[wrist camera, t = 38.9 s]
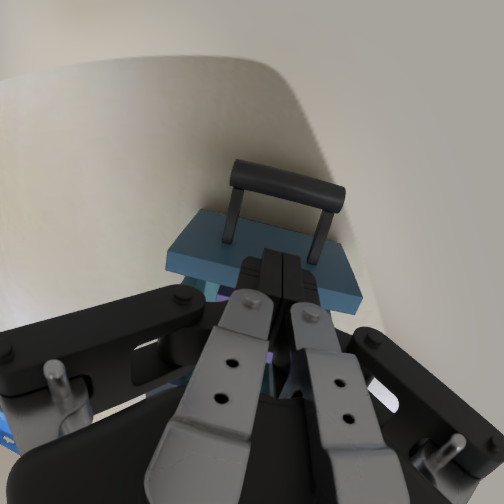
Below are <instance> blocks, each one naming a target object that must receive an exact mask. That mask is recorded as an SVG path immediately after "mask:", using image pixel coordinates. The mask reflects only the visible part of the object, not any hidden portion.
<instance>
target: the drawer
mask: <svg viewBox="0 0 504 504" xmlns="http://www.w3.org/2000/svg"><path fill="white" fill-rule="evenodd" d="M230 186H232V187H234V188H233V190H232V194H231V199H230V204H229V208H228V213H227V215H225V214H221V213H217V212H213V211H208V210H204V209H200V210H199V212H198V213H197V214H196V215H195V216H194V218H193V219H192V220H191V221H190V223H189V224H188V225H187V226H186V228H185V229H184V230H183V231H182V233H181V234H180V235H179V236H178V238H177V239H176V240H175V242H174V243H173V244H172V245H171V247H170V248H169V249H168V251H167V258H166V268H165V270H166V271H170V272H174V273H178V274H181V275H185V278H184V280H183V281H182V283H181V284H183V285H189V286H192V287H194V288H196V289H198V290H200V291H201V292H202V293H203V294H204V296H205V298H206V302H215V301H216V296H217V292H218V290H219V287H220V285H224V286H228V287H233V288H235V287H236V283H237V280H238V276H239V272H240V268H241V264H242V261H243V260H244V259H245V258H247V257H248V256H252V257H256V258H260V259H261V257H262V253H263V250H264V248H268V249H272V250H276V251H280V252H285V253H289V254H293V255H297V256H300V259H301V268H302V269H305V270H309V271H310V272H311V273H312V274H313V275H314V276H315V278H316V282H317V288H318V293H319V299H320V304H321V307H322V308H323V309H325V310H326V311H327V312H328V313H329V315H330V316H331V313H330V310H333V311H337V312H342V313H347V314H352V315H355V314H356V311H357V309H358V307H359V305H360V303H361V301H362V299H363V296H362V294H361V291H360V289H359V286H358V284H357V281H356V279H355V276H354V274H353V271H352V269H351V267H350V264H349V262H348V259H347V257H346V255H345V252H344V250H343V248H342V245H341V244H340V243H337V242H333V241H329V240H326V237H327V234H328V231H329V228H330V225H331V222H332V219H333V216H334V213H339V212H340V211H341V209H342V207H343V204H344V200H345V194H346V190H345V188H344V187H342V186H339V185H336V184H332V183H329V182H325V181H322V180H318V179H315V178H311V177H307V176H304V175H300V174H296V173H292V172H289V171H285V170H281V169H277V168H273V167H269V166H265V165H261V164H256V163H252V162H248V161H244V160H239V159H236V160H235V162H234V165H233V169H232V172H231V177H230ZM244 190H249V191H253V192H257V193H261V194H265V195H269V196H273V197H277V198H281V199H285V200H289V201H293V202H297V203H300V204H304V205H308V206H312V207H315V208H319V209H322V213H321V216H320V219H319V222H318V225H317V228H316V232H315V235H314V236H310V235H306V234H302V233H298V232H294V231H290V230H287V229H283V228H279V227H275V226H271V225H267V224H262V223H258V222H254V221H250V220H246V219H242V218H238V217H239V212H240V208H241V203H242V199H243V195H244ZM331 319H332V318H331ZM269 366H270V363H266V364H265V369H264V374H263V379H262V384H261V389H260V392H262V393H264V394H267V395H269ZM195 367H196V366H194V368H193V370H192V371H191V372H189V373H188V374H186V375H184V376H182V377H179V378H182V379H185V380H189V381H190V378H191V376H192V374H193V372H194V369H195Z"/></svg>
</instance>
